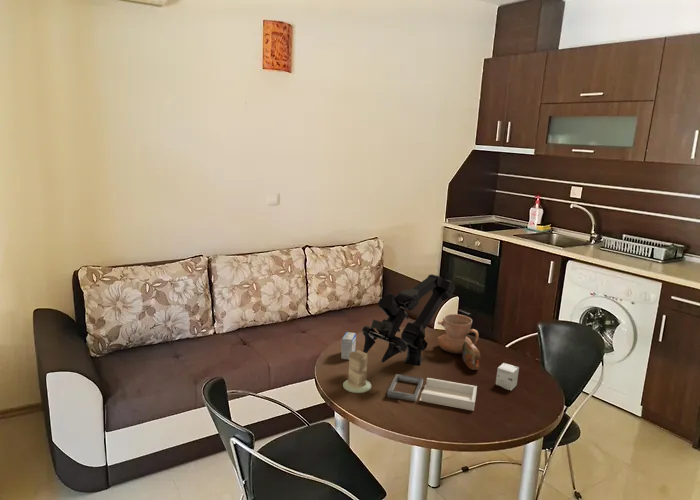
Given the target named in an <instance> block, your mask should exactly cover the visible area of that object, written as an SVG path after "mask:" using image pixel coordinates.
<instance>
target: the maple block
mask: <svg viewBox="0 0 700 500" xmlns="http://www.w3.org/2000/svg"><path fill="white" fill-rule="evenodd" d="M367 370H368V352H367V353H364V352H363V350H362V351H361V350H360V349H356V350H355V351H354V352H351V353H349V360H348V379H347V380H348V385H350V386H352V387H354V388H356V389H359V388H361V387H363V386H365V385H366V380H367V373H368V372H367Z"/></svg>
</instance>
